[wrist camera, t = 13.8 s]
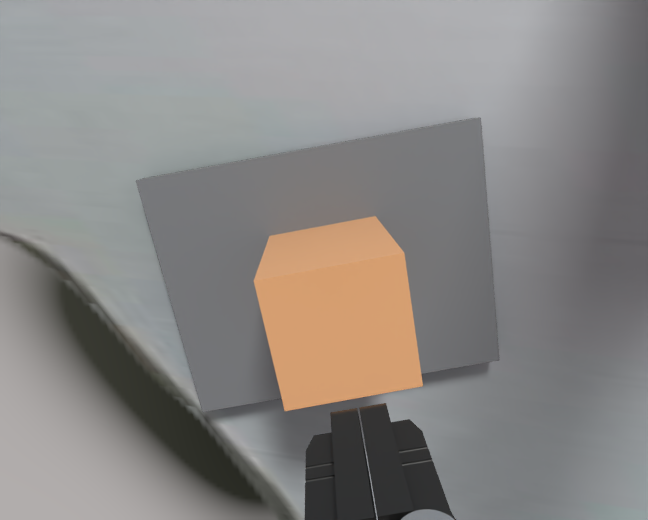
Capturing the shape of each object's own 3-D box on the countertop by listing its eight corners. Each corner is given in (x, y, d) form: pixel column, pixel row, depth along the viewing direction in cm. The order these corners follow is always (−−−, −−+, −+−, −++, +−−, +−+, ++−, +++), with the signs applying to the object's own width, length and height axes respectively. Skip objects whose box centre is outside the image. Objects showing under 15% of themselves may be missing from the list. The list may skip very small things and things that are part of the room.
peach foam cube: (375, 216, 25) (404, 252, 17) (390, 314, 26) (422, 386, 19) (269, 236, 25) (253, 281, 17) (291, 332, 26) (284, 411, 19)
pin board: (472, 118, 25) (537, 113, 18) (491, 350, 28) (550, 422, 21) (143, 178, 25) (80, 197, 18) (206, 400, 29) (174, 487, 22)
